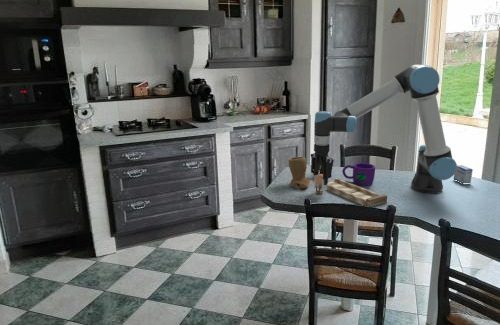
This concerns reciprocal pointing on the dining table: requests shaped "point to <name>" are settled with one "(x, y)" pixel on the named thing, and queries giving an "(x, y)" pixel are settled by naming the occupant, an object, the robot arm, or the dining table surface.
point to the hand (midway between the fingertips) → (320, 188)
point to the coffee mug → (321, 166)
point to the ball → (319, 178)
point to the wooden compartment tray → (356, 193)
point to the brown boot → (298, 172)
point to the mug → (361, 173)
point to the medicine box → (463, 174)
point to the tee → (319, 191)
